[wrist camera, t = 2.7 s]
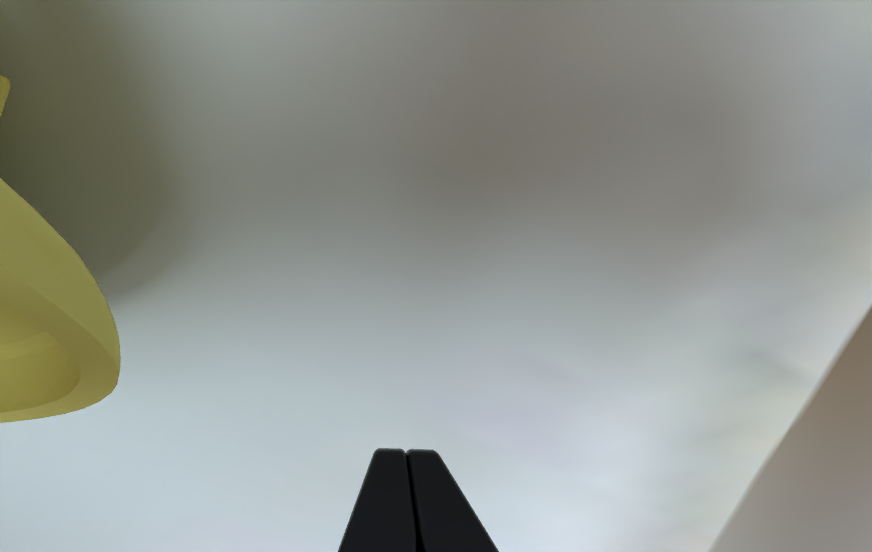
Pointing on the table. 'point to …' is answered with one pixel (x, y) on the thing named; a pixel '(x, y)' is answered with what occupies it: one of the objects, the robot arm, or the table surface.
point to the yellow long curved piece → (48, 318)
